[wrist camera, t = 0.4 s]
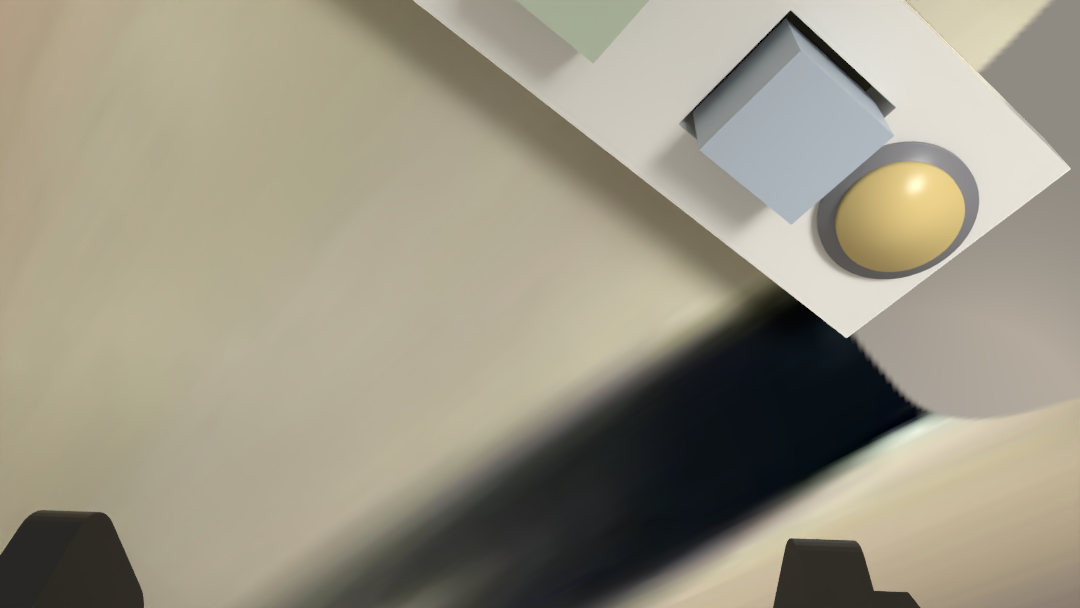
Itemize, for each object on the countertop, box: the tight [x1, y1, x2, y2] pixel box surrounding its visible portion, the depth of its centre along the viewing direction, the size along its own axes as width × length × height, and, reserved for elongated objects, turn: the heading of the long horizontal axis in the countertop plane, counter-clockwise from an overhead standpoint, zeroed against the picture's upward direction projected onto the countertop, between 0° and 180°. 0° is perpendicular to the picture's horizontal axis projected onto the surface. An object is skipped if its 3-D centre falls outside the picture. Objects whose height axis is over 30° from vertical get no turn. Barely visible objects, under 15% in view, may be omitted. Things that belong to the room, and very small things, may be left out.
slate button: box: [693, 18, 894, 225], centre depth 31 cm, size 4×4×3 cm
